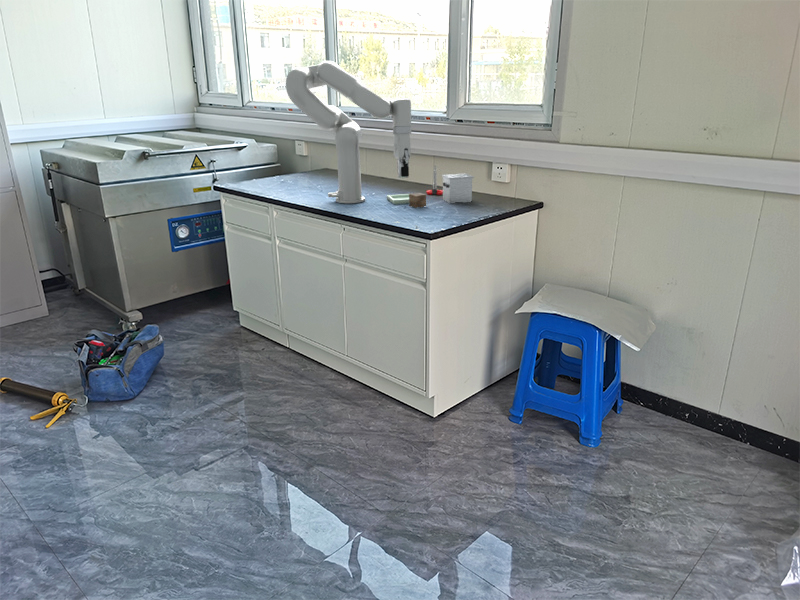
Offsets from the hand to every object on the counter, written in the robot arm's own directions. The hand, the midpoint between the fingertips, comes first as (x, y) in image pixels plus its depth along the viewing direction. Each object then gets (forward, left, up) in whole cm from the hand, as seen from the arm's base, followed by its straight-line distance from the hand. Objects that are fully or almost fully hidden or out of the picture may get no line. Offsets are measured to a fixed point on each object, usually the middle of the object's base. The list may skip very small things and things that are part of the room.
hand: (403, 175), depth 244 cm
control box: (+22, -7, -11) cm, 25 cm away
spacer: (0, 0, -1) cm, 1 cm away
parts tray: (0, 0, -11) cm, 11 cm away
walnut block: (+3, -11, -11) cm, 16 cm away
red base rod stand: (+19, +12, -11) cm, 25 cm away
